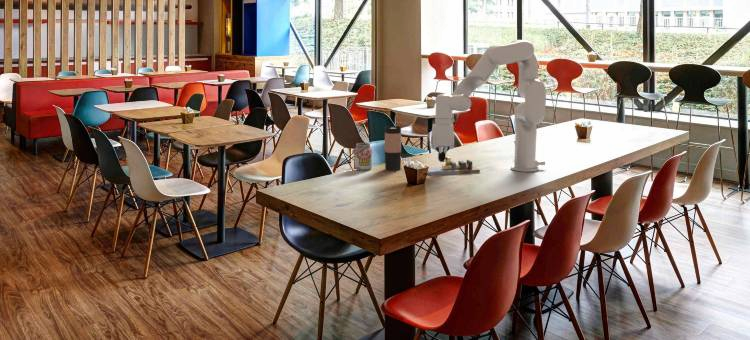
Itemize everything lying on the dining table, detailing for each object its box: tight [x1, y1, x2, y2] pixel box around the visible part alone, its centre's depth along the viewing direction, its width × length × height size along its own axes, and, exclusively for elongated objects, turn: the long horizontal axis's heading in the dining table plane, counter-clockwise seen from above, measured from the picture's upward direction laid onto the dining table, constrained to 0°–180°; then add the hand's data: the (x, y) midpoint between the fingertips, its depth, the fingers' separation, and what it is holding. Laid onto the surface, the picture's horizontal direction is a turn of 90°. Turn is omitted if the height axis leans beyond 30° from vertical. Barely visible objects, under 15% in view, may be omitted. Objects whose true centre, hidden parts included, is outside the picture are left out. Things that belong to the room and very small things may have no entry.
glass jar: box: [351, 142, 373, 171], centre depth 321 cm, size 9×8×12 cm
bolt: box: [441, 156, 469, 169], centre depth 314 cm, size 12×2×5 cm, turn 101°
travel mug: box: [384, 125, 402, 172], centre depth 319 cm, size 8×8×20 cm
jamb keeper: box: [457, 159, 481, 175], centre depth 315 cm, size 10×9×5 cm
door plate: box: [427, 160, 460, 176], centre depth 313 cm, size 14×9×5 cm, turn 101°
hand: (441, 161), depth 312 cm, fingers closed
